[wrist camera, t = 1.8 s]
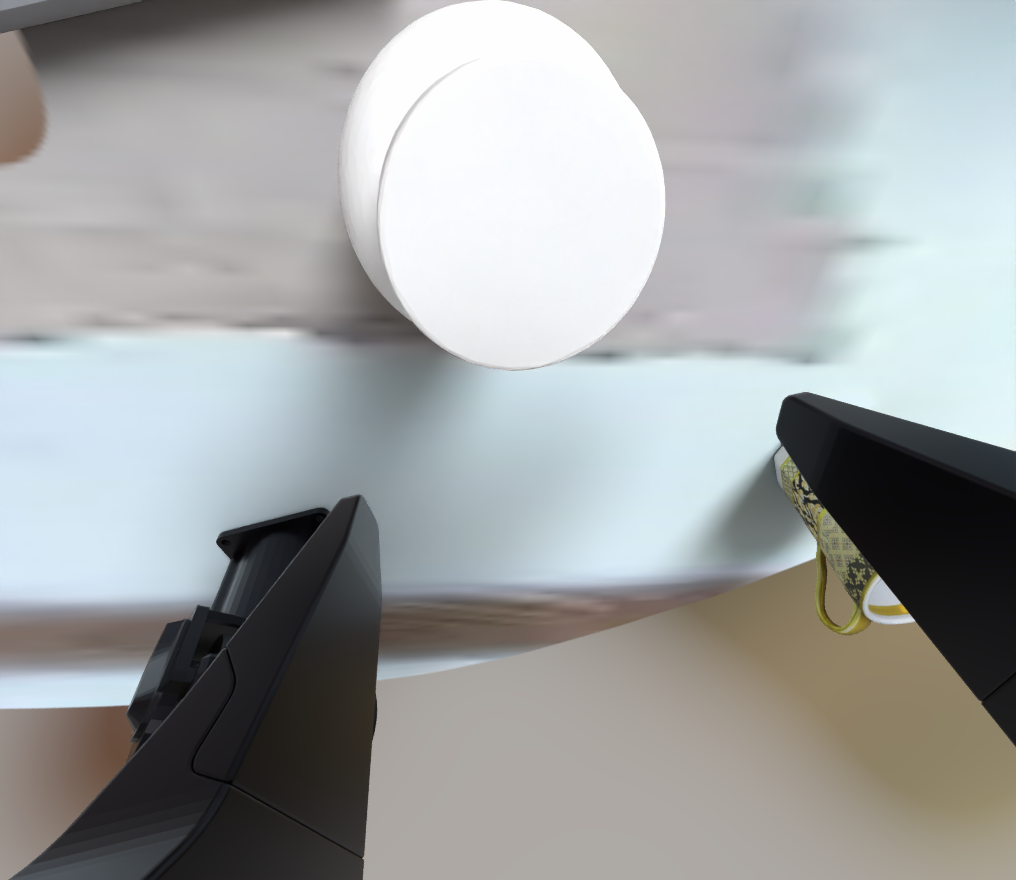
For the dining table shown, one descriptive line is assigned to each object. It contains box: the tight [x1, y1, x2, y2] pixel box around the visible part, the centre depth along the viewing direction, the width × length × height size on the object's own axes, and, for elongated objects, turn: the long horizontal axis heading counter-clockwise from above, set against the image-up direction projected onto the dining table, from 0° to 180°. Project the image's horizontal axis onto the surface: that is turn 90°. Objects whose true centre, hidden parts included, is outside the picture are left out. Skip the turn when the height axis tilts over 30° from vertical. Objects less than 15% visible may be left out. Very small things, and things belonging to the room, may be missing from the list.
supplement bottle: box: [338, 0, 665, 370], centre depth 12 cm, size 7×7×13 cm
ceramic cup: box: [774, 445, 915, 635], centre depth 27 cm, size 13×10×10 cm
